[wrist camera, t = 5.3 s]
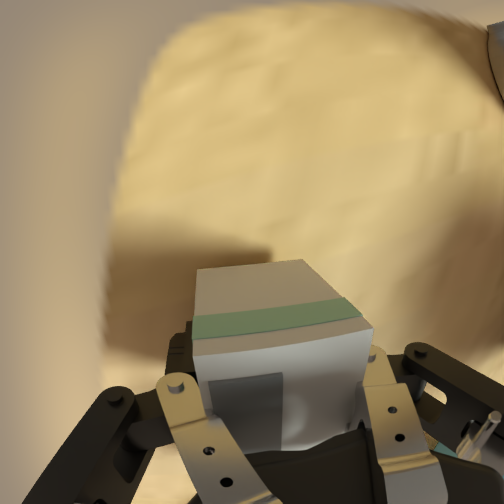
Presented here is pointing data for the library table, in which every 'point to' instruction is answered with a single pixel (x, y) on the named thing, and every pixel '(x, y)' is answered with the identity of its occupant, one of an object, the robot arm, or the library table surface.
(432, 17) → the library table surface
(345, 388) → the block
